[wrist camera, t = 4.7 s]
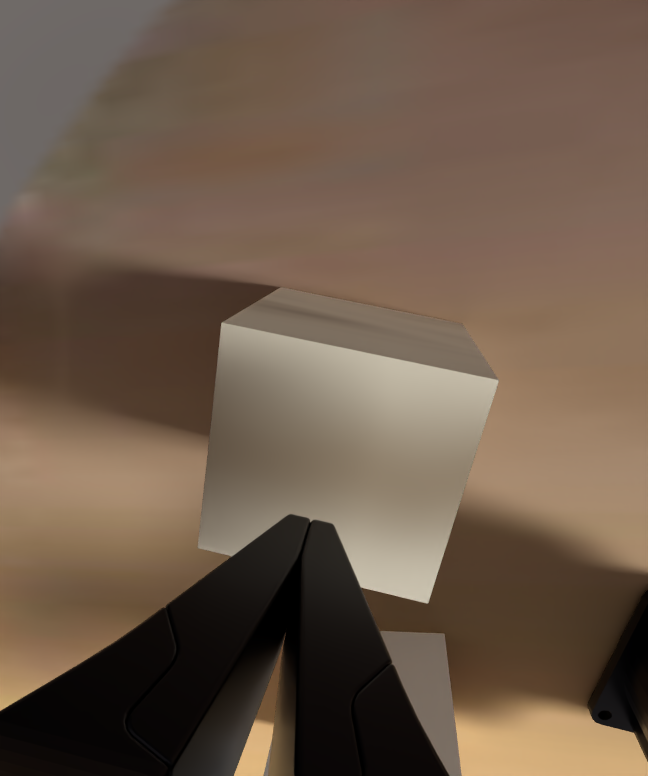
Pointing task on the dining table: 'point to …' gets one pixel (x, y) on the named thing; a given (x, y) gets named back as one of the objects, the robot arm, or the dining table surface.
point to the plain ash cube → (345, 431)
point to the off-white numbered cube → (425, 689)
